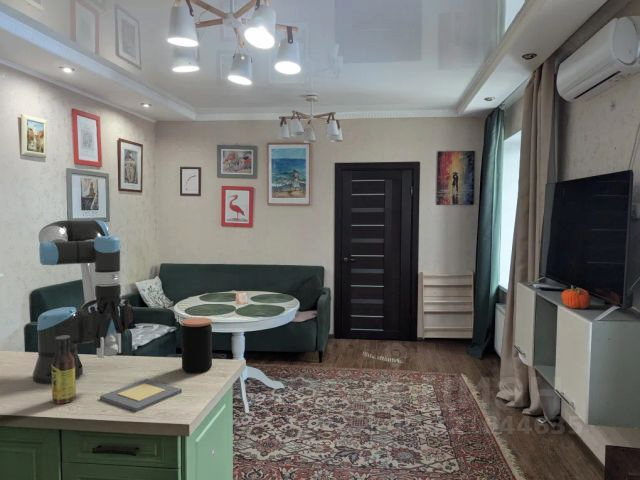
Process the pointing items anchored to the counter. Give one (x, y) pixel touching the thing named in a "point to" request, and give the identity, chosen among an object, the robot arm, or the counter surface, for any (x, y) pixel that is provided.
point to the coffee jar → (196, 345)
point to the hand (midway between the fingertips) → (109, 354)
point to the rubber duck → (110, 346)
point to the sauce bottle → (63, 372)
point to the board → (141, 394)
